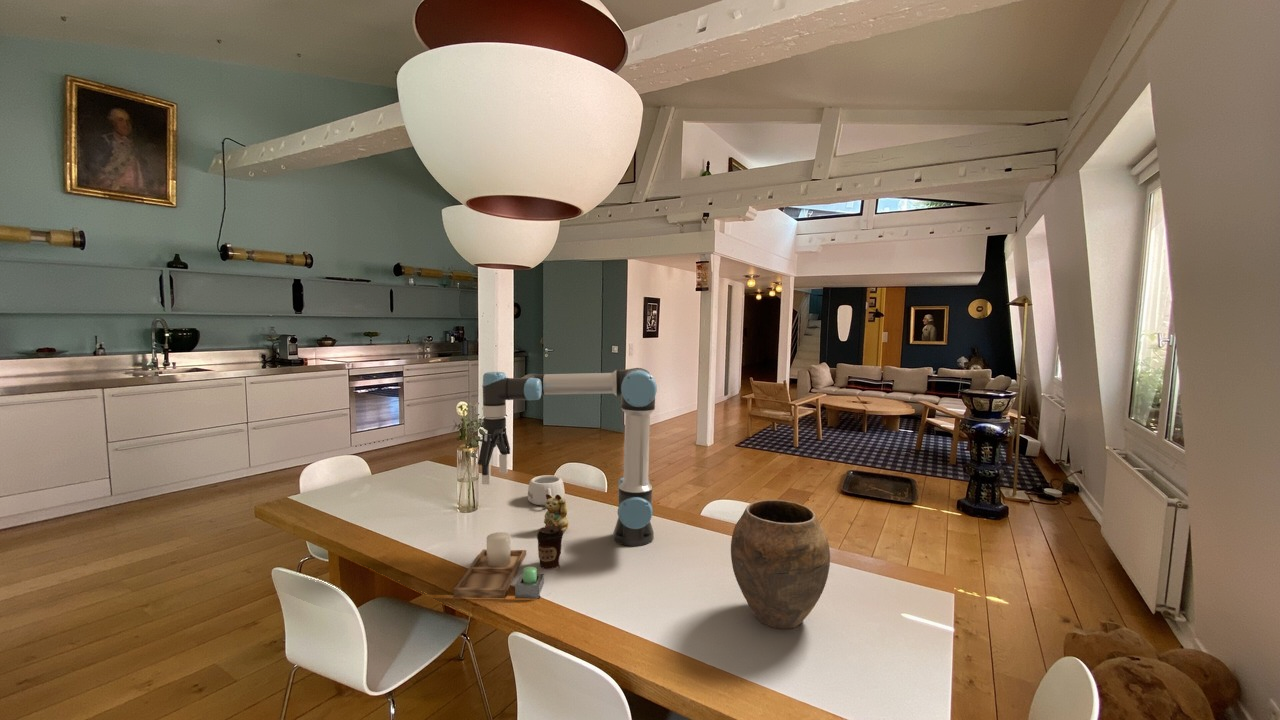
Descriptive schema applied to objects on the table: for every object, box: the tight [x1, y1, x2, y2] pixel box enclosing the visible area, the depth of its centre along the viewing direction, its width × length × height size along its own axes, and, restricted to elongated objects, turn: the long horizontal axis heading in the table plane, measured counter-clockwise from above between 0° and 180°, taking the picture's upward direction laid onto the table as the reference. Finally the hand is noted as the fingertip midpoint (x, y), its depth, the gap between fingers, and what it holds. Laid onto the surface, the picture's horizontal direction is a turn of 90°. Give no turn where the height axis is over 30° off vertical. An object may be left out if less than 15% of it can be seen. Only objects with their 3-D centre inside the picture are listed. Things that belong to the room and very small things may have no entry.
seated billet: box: [486, 531, 512, 568], centre depth 171 cm, size 8×8×9 cm
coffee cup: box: [536, 526, 564, 570], centre depth 170 cm, size 9×8×13 cm
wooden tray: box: [453, 549, 527, 599], centre depth 165 cm, size 15×27×2 cm, turn 179°
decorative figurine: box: [543, 494, 569, 533], centre depth 201 cm, size 10×8×15 cm
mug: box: [527, 474, 566, 507], centre depth 233 cm, size 21×17×10 cm
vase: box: [730, 499, 831, 630], centre depth 142 cm, size 26×26×30 cm
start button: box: [522, 566, 538, 583], centre depth 154 cm, size 4×4×5 cm
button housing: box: [514, 573, 545, 600], centre depth 155 cm, size 7×7×4 cm
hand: (495, 478), depth 178 cm, fingers open, 13 cm apart
